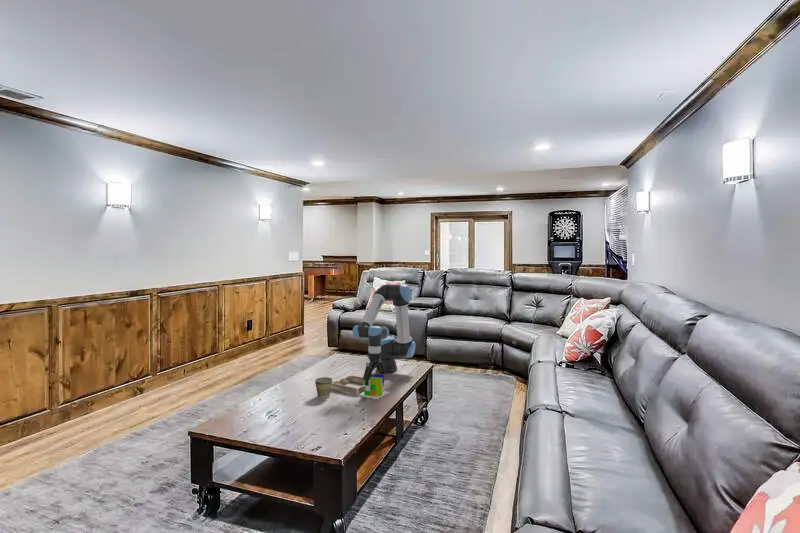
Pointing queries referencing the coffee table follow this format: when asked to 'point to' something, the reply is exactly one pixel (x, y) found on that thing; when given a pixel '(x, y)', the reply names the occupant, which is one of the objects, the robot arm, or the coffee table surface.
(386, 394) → the pad
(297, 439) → the coffee table surface
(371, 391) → the puzzle toy
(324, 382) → the ceramic cup
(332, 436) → the coffee table surface
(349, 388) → the bin
